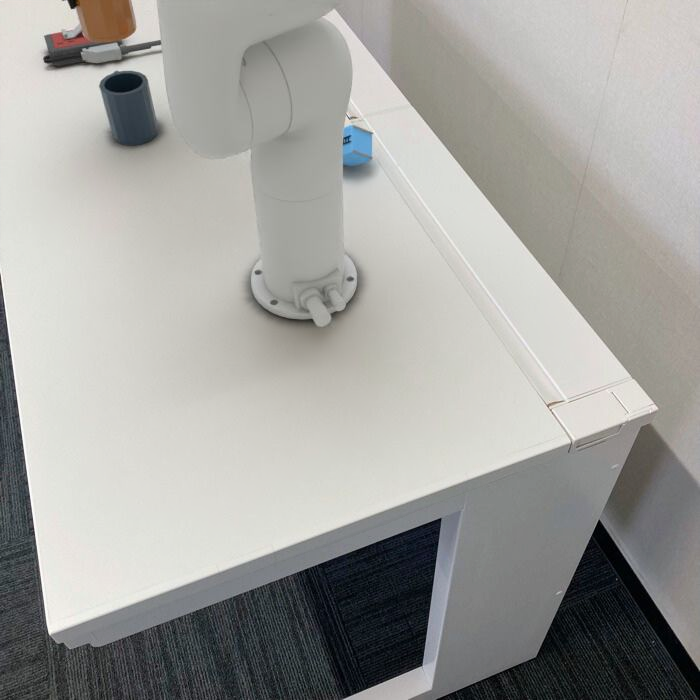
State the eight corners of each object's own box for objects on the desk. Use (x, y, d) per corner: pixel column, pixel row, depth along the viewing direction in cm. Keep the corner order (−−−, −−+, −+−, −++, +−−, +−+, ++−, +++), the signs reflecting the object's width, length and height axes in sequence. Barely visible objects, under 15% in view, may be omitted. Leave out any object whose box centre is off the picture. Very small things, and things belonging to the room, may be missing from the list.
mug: (163, 139, 112) (152, 88, 106) (118, 149, 111) (104, 99, 105) (147, 107, 118) (136, 57, 112) (104, 116, 116) (90, 67, 110)
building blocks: (315, 180, 113) (374, 160, 105) (271, 166, 108) (330, 144, 99) (316, 128, 114) (374, 104, 106) (273, 112, 108) (331, 85, 100)
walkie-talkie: (48, 75, 124) (170, 52, 129) (39, 49, 121) (165, 26, 126) (41, 51, 130) (158, 29, 135) (33, 25, 127) (153, 4, 131)
